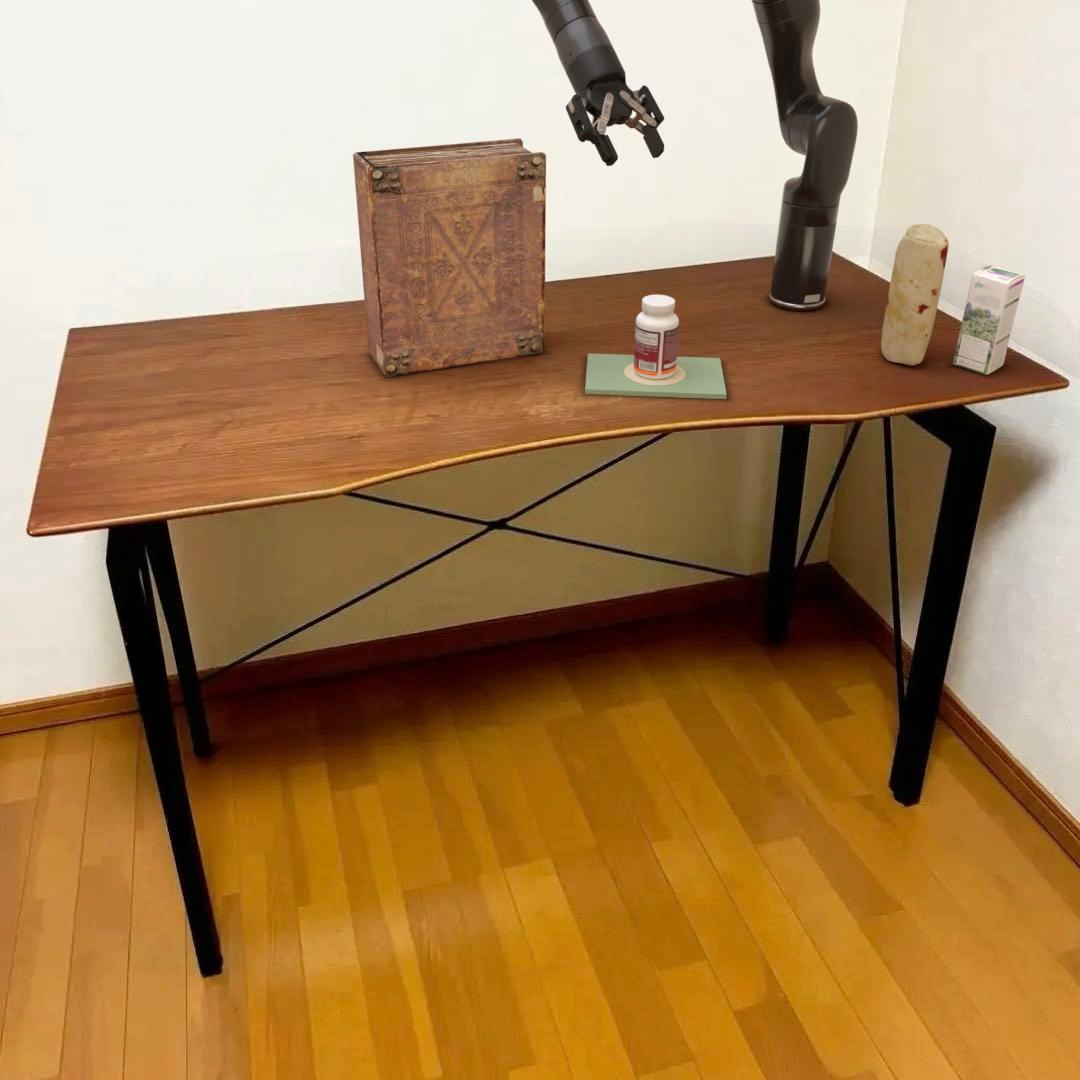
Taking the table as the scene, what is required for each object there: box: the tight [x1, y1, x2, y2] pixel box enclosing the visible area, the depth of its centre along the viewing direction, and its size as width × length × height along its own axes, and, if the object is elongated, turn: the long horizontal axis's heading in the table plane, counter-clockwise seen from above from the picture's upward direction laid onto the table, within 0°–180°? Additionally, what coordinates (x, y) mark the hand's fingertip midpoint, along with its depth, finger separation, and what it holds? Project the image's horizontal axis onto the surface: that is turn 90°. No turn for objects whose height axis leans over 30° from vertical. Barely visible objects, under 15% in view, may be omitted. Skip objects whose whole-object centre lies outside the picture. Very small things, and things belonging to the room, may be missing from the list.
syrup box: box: [952, 264, 1026, 376], centre depth 165 cm, size 6×6×14 cm
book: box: [352, 137, 547, 378], centre depth 163 cm, size 25×9×30 cm, turn 112°
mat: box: [584, 353, 728, 400], centre depth 164 cm, size 13×20×1 cm, turn 86°
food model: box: [880, 223, 950, 366], centre depth 166 cm, size 10×7×20 cm
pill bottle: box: [633, 294, 680, 379], centre depth 161 cm, size 6×6×11 cm
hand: (636, 158), depth 158 cm, fingers open, 8 cm apart
